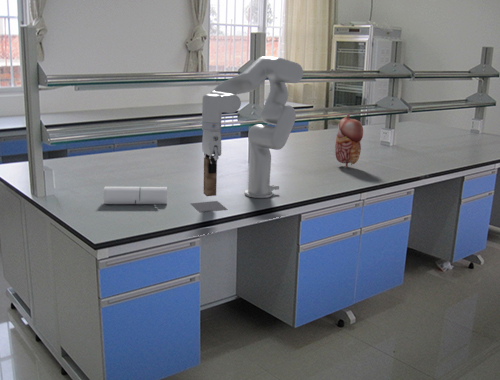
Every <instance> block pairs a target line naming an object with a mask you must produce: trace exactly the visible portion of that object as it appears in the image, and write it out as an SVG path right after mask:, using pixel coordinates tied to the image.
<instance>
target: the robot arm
mask: <svg viewBox="0 0 500 380" xmlns="http://www.w3.org/2000/svg"><path fill="white" fill-rule="evenodd" d="M303 77H304V69H303V67H302V66H301V64H299V63H297V62H295V61H291V60H288V59H285V58H282V57H278V56H277V57H276V56H267V55H266V56H265V55H264V56H259V57H258V58H257V59H256V60H255V61H253V62H252V63H251V64H250V65H249V66H248V67H246V69H245V70H244V71H243V72H242V73H241V74H238V75H235V76H233V77H231V78H229V79H226V80H224V81H223V82H221V83H219V84H218V85H217V86H216V87H214V88H213V89H212V90H211V91H210V93H206V94H204V95H203V96H202V103H201V105H202V108H201V110H202V111H201V130H202V141H201V148H202V149H201V150H202V152H203V154H204V155H203V159H204V158H206V157H209V161H210V163H209V169H208V173H209V174H211V173H216V170H217V171H218V160H219V157H220V156H222V134H221V133H222V132H221V131H222V116H223V115H222V113H228V114H232V113H236V112H238V111H239V110H240V108H241V105H242V101H241V98H240V97H239V96H238V95H241V94H246V93H247V94H248V93H251V92H254V91H255V90H256V89H257V88H258V87H260V86H261V85H262V83H264V82H265V80H267V79H268V82H269V86H270V87H269V93H268V95H267V98H266V101H265V102H264V105H263V108H262V109H261V111H260V119H261V121H262V122H263V123H266V124H261V123H257V124H254V125H252V126H251V127H250V128H249V130H248V133H247V134H248V135H247V136H248V139H247V140H248V144H249V160H248V161H249V162H248V163H249V165H248V166H249V167H248V182H247V183H248V184H247V186H248V187H247V189H245V190H244V195H245V196H246V197H249V198H253V199H268V198H271V197H272V196H273V191H279V190H280V185H275V184H271V165H272V154H271V150H276V151H278V150H282V149H283V148H284V147H285V145H286V143H287V142H288V139H289V136H290V134H291V131H292V129H293V127H294V125H295V123H296V122H295V121H296V119H297V118H296V115H297V114H296V110H295V108H294V107H293V106H292V105H289V104H287V102H288V99H289V90H288V86H287V84H297V83H299V82H301V80H302V79H303ZM286 83H287V84H286ZM267 124H269V125H267ZM272 125H273V126H272ZM212 157H214V158H212Z"/></svg>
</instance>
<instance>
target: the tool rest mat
mask: <svg viewBox="0 0 500 380" xmlns="http://www.w3.org/2000/svg"><path fill="white" fill-rule="evenodd" d="M189 204H190V205H191V206H192V207H193V208H194V209H195V210H197V212H199V213H208V212H209V213H210V212H211V213H212V212H219V211H228V208H227V207H225V206H224V205H223V204H222V203H220V202H219V201H218V200H214V201H213V200H212V201H203V202H202V201H201V202H193V203H189Z"/></svg>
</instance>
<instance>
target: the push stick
mask: <svg viewBox="0 0 500 380" xmlns="http://www.w3.org/2000/svg"><path fill="white" fill-rule="evenodd" d="M212 158H214V157H212ZM209 163H210V161H209V157H206V158H204V157H203V195H205V196H206V197H214V196H215V197H216V196H217V174H218V173H217V171H218V169H217V170H216V173H211V174H209V173H208V169H209Z"/></svg>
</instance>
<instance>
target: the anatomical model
mask: <svg viewBox="0 0 500 380" xmlns="http://www.w3.org/2000/svg"><path fill="white" fill-rule="evenodd" d="M350 116H351V115H350V113H347V114H346V116H345V117H343V118H341V119H340V120H339V122H338V126H337V127H338V128H337V129H338V130H337V134H336V138H335V139H336V140H335V146H334V148H335V149H334V150H335V151H334V153H335V158H336V160H337V161H338V163H340V164H345V166H344V168H348V166H349V164H350V165H351V166H352V165H355V164H356V163H357V162H358V160H359V159H360V156H361V150H362V143H361V141H362V139H363V137H364V127H363V123H362V122H361V121H360V120H358V119H355V118H350Z"/></svg>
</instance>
